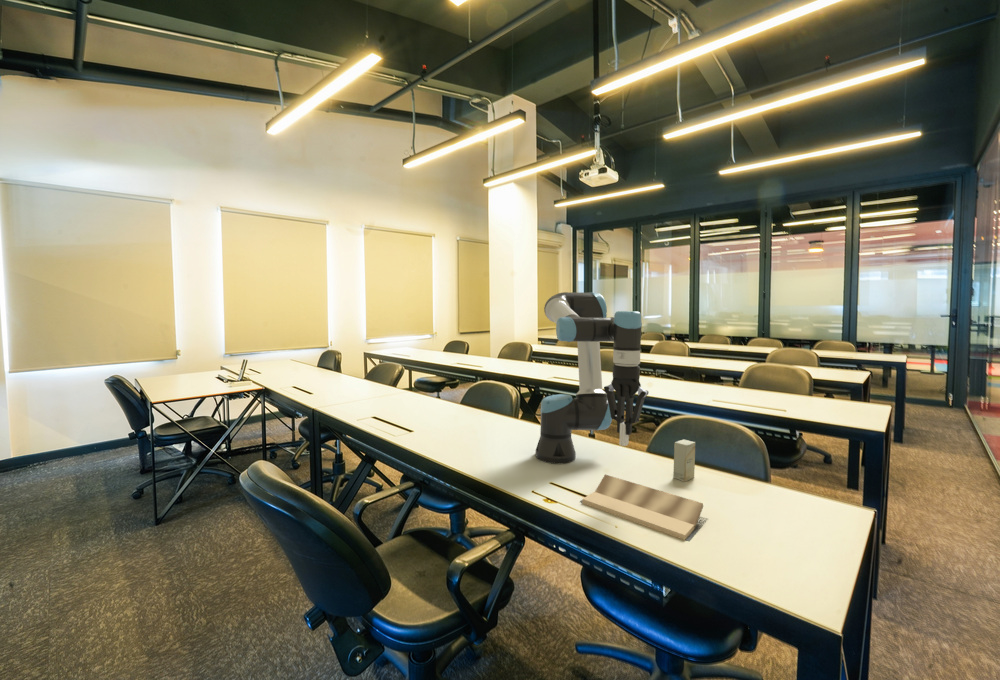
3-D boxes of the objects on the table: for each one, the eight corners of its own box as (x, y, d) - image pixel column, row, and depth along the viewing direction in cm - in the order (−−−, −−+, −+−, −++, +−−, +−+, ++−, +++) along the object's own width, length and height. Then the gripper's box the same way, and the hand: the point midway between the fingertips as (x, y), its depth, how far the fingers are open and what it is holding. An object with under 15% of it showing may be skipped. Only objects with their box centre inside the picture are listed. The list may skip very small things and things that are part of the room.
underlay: (579, 505, 119) (579, 497, 119) (604, 489, 130) (605, 482, 130) (689, 545, 99) (689, 536, 99) (708, 522, 110) (708, 514, 110)
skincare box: (685, 482, 136) (686, 445, 135) (672, 477, 140) (673, 442, 139) (694, 477, 140) (696, 441, 139) (681, 473, 144) (683, 438, 143)
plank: (595, 494, 124) (594, 491, 123) (605, 477, 128) (605, 474, 127) (695, 528, 105) (694, 524, 104) (703, 506, 109) (702, 503, 109)
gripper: (599, 363, 122) (597, 442, 124) (642, 367, 114) (640, 452, 115) (611, 361, 128) (609, 437, 130) (653, 365, 119) (651, 446, 121)
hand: (623, 444), depth 122 cm, fingers closed
